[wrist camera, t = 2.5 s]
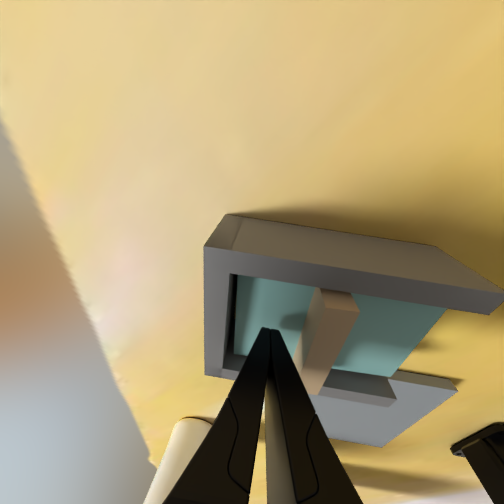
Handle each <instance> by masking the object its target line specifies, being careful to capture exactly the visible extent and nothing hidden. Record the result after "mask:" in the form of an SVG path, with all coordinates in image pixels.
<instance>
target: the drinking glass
mask: <svg viewBox="0 0 504 504" xmlns="http://www.w3.org/2000/svg"><path fill="white" fill-rule="evenodd" d="M211 427H212V425H211V424H210V423H208V422H206V421H203V420H200V419H196V418H184V419H181V420H179V421H178V422H177V423H176V424H175V426H174V429H173V431H172V434H171V437H170V440H169V443H168V445H167V448H166V450H165V453H164V455H163V458H162V460H161V462H160V465H159V467H158V470H157V472H156V474H155V477H154V479H153V482H152V484H151V487H150V489H149V491H148V494H147V496H146V498H145V501H144V503H143V504H162V503H163V501H164V500H165V499H166V497H167V496H168V494H169V493H170V491H171V490H172V488H173V487H174V485H175V484H176V482H177V481H178V479H179V478H180V476H181V474H182V473H183V471H184V470H185V468H186V467H187V465H188V463H189V462H190V460H191V459H192V457H193V456H194V454H195V452H196V451H197V449H198V448H199V446H200V445H201V443H202V441H203V440H204V438H205V437H206V435H207V433H208V432H209V430H210V428H211Z"/></svg>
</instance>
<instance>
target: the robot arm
mask: <svg viewBox="0 0 504 504" xmlns="http://www.w3.org/2000/svg"><path fill="white" fill-rule="evenodd" d="M264 397H265V438H266V479H267V504H363V502H362V500H361V499H360V497H359V495H358V493H357V491H356V489H355V488H354V486H353V484H352V482H351V480H350V478H349V477H348V475H347V473H346V471H345V469H344V468H343V466H342V464H341V462H340V460H339V458H338V456H337V454H336V452H335V451H334V449H333V447H332V445H331V443H330V441H329V439H328V437H327V434H326V432H325V430H324V428H323V426H322V424H321V422H320V419H319V417H318V415H317V414H315V413H316V411H315V408H314V406H313V404H312V402H311V400H310V397H309V395H308V393H307V391H306V388H305V386H304V384H303V382H302V380H301V377H300V375H299V373H298V371H297V368H296V366H295V364H294V362H293V360H292V357H291V355H290V353H289V351H288V348H287V346H286V344H285V342H284V340H283V337H282V335H281V333H280V331H279V330H278V329H270V328H266V327H262V328H261V329H260V331H259V333H258V335H257V337H256V339H255V341H254V343H253V345H252V348H251V350H250V352H249V354H248V356H247V358H246V360H245V362H244V364H243V366H242V368H241V370H240V372H239V374H238V376H237V378H236V380H235V382H234V384H233V386H232V388H231V390H230V392H229V394H228V398H226V400H225V402H224V404H223V406H222V408H221V410H220V412H219V414H218V416H217V418H216V419H215V421H214V423H213V425H212V427H211V428H210V430H209V432H208V433H207V435H206V437H205V438H204V440H203V441H202V443H201V445H200V446H199V448H198V449H197V451H196V452H195V454H194V456H193V457H192V459H191V460H190V462H189V463H188V465H187V467H186V468H185V470H184V471H183V473H182V474H181V476H180V478H179V479H178V481H177V482H176V484H175V485H174V487H173V488H172V490H171V491H170V493H169V494H168V496H167V497H166V499H165V500H164V501H163V503H162V504H248V503H249V494H250V489H251V483H252V476H253V469H254V463H255V456H256V449H257V443H258V436H259V429H260V422H261V416H262V409H263V402H264ZM450 450H451V452H452V454H453V455H455V456H461V457H466V459H467V460H468V462H469V464H470V465H471V467H472V469H473V470H474V472H475V473H476V475H477V477H478V478H479V480H480V482H481V483H482V485H483V487H484V488H485V490H486V492H487V493H488V495H489V497H490V498H491V500H492V501H493V503H494V504H504V426H503V425H494V426H491V427H489V428H487V429H485V430H483V431H481V432H479V433H478V434H476V435H474V436H472V437H470V438H468V439H466V440H464V441H462V442H460V443H458V444H457V445H455V446H453V447H451V448H450Z"/></svg>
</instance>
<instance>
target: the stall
mask: <svg viewBox="0 0 504 504" xmlns="http://www.w3.org/2000/svg"><path fill="white" fill-rule="evenodd" d="M238 275H244V276H250V277H256V278H262V279H269V280H275V281H281V282H287V283H293V284H299V285H306V286H312V287H318V288H324V289H330V290H337V291H343V292H349V293H355V294H361V295H367V296H374V297H380V298H386V299H392V300H398V301H404V302H411V303H417V304H423V305H429V306H435V307H441V308H448V309H454V310H460V311H466V312H472V313H479V314H485V315H489V314H490V313H492V312H493V311H494V310H495V309H496V308H497V307H498V306H499V305H500V304H501V303H502V302H503V301H504V290H503V289H501V288H499V287H498V286H496V285H495V284H493V283H492V282H490V281H489V280H487V279H485V278H484V277H482V276H481V275H479V274H478V273H476V272H475V271H473V270H471V269H470V268H468V267H467V266H465V265H464V264H462V263H461V262H459V261H457V260H456V259H454V258H453V257H451V256H450V255H448V254H446V253H445V252H443V251H442V250H440V249H439V248H437V247H436V246H430V245H423V244H417V243H410V242H404V241H397V240H391V239H384V238H377V237H371V236H364V235H358V234H351V233H345V232H338V231H332V230H325V229H319V228H312V227H306V226H299V225H292V224H286V223H279V222H273V221H266V220H260V219H253V218H247V217H240V216H234V215H227V214H225V216H224V217H223V219H222V220H221V222H220V223H219V224H218V226H217V227H216V229H215V230H214V232H213V233H212V235H211V236H210V237H209V239H208V240H207V242H206V243H205V245H204V360H205V375H208V376H213V377H219V378H224V379H230V380H236V378H237V376H238V374H239V372H240V370H241V368H242V366H243V364H244V362H245V360H246V358H247V356H244V355H237V354H234V339H235V320H236V319H235V318H234V313H235V304H236V295H237V282H238ZM318 395H320V396H325V397H331V398H337V399H342V400H348V401H353V402H359V403H365V404H370V405H376V406H381V407H387V408H389V407H390V406H391V405H392V404H393V403H394V402H395V401H396V400H397V398H396V396H395V394H394V392H393V389H392V387H391V385H390V383H389V381H388V379H387V377H386V376H380V375H373V374H366V373H360V372H353V371H346V370H339V369H332V368H331V370H330V372H329V374H328V376H327V378H326V380H325V382H324V383H323V385H322V387H321V389H320V391H319V393H318Z"/></svg>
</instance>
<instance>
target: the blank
mask: <svg viewBox="0 0 504 504" xmlns="http://www.w3.org/2000/svg"><path fill="white" fill-rule="evenodd" d="M446 310H447V308H441V307H435V306H429V305H423V304H417V303H411V302H404V301H398V300H392V299H386V298H380V297H374V296H367V295H361V294H355V293H349V292H343V291H337V290H330V289H324V288H318V287H312V286H306V285H299V284H293V283H287V282H281V281H275V280H269V279H262V278H256V277H250V276H244V275H238V282H237V301H236V320H235V339H234V354H237V355H244V356H248V354H249V352H250V350H251V348H252V345H253V343H254V341H255V339H256V337H257V335H258V333H259V331H260V329H261V328H262V327H266V328H270V329H278V330H279V331H280V333H281V335H282V337H283V340H284V342H285V344H286V346H287V348H288V351H289V353H290V355H291V357H292V360H293V362H294V364H295V366H296V368H297V371H298V373H299V375H300V377H301V380H302V382H303V384H304V386H305V388H306V391H307V393H308V394H313V395H318V393H319V391H320V389H321V387H322V385H323V383H324V382H325V380H326V378H327V376H328V374H329V372H330V370H331V368H332V369H339V370H346V371H353V372H360V373H366V374H373V375H380V376H387V377H391V376H392V375H393V374H394V372H395V371H396V370H397V369H398V368H399V366H400V365H401V364H402V363H403V362H404V360H405V359H406V358H407V357H408V356H409V354H410V353H411V352H412V351H413V350H414V348H415V347H416V346H417V345H418V343H419V342H420V341H421V340H422V339H423V337H424V336H425V335H426V334H427V333H428V331H429V330H430V329H431V328H432V327H433V325H434V324H435V323H436V322H437V321H438V319H439V318H440V317H441V316H442V314H443V313H444V312H445V311H446Z"/></svg>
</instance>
